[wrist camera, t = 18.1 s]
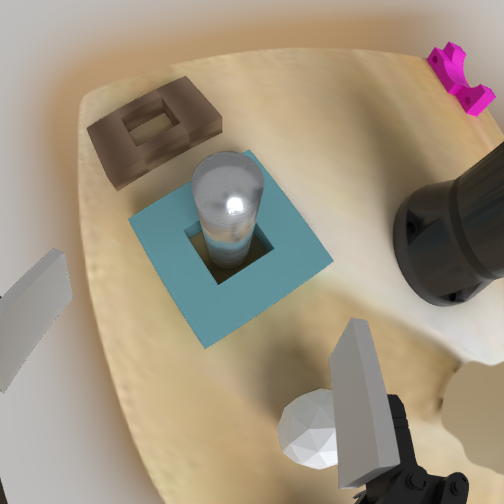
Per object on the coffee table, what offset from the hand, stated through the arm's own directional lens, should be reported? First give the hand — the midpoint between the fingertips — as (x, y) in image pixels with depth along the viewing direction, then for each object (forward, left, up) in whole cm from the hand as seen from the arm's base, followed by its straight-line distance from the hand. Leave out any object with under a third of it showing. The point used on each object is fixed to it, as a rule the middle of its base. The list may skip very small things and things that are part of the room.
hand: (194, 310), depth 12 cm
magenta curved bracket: (-61, -10, -16) cm, 64 cm away
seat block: (-5, -5, -16) cm, 17 cm away
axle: (-5, -5, -16) cm, 17 cm away
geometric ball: (-2, +14, -16) cm, 21 cm away
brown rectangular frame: (-5, -22, -16) cm, 28 cm away
